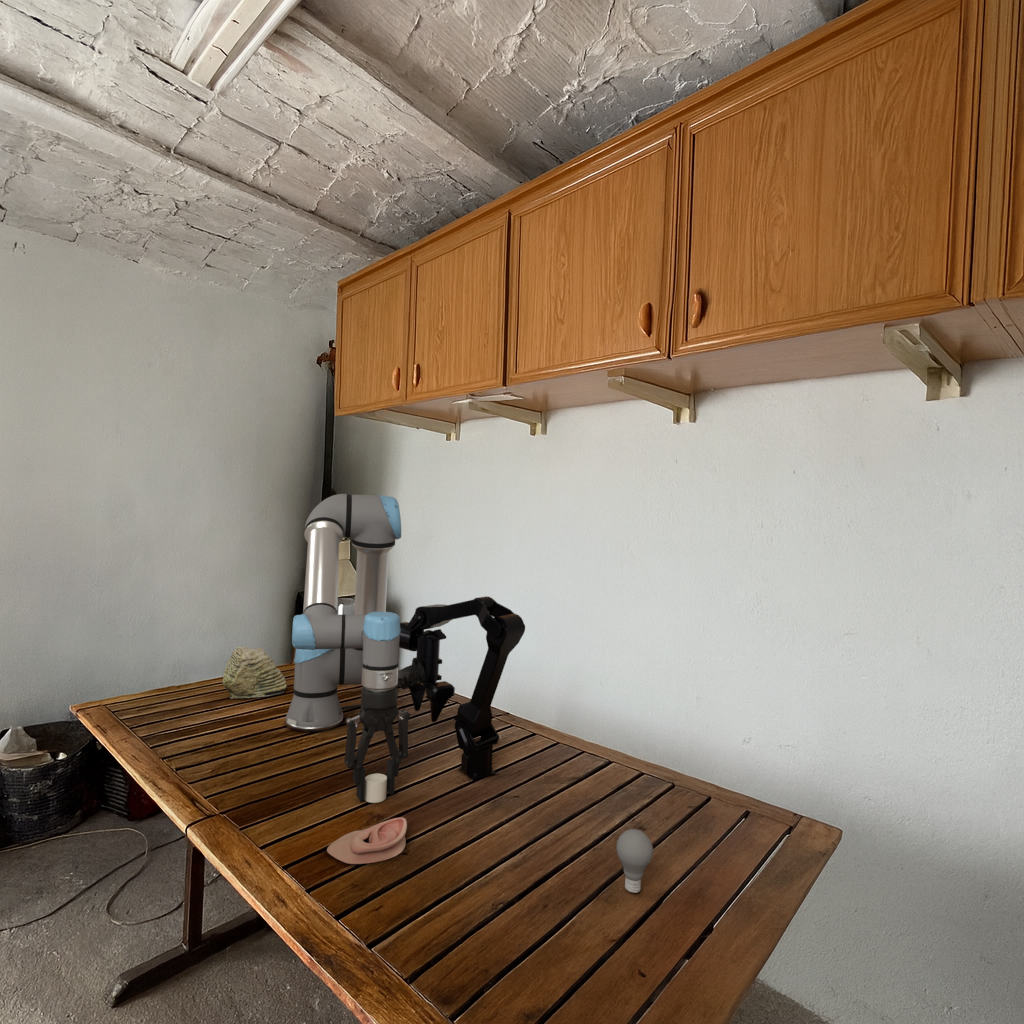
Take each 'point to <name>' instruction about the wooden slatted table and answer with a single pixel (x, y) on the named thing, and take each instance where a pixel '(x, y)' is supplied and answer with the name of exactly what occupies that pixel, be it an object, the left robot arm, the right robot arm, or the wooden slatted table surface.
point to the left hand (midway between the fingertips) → (375, 794)
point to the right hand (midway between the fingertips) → (425, 716)
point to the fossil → (252, 674)
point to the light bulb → (634, 857)
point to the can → (375, 788)
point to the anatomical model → (371, 843)
